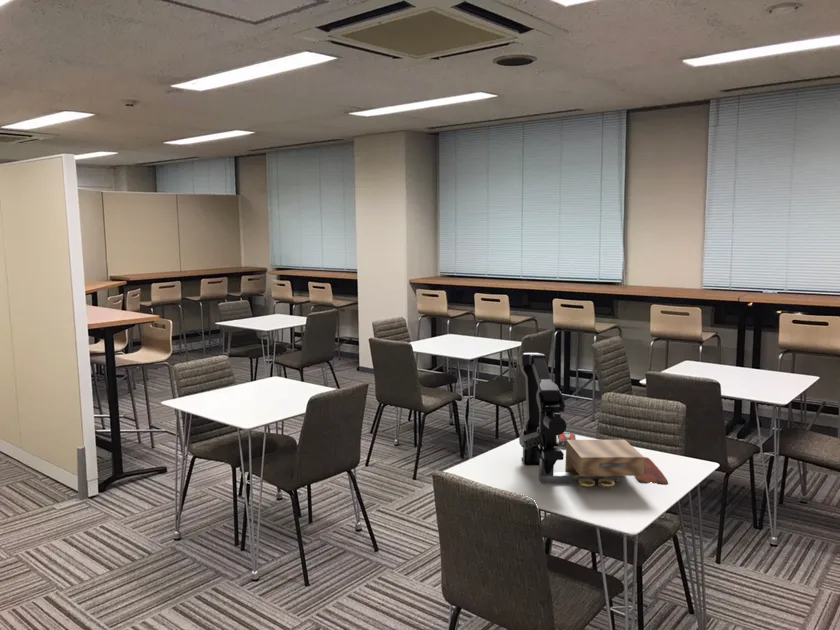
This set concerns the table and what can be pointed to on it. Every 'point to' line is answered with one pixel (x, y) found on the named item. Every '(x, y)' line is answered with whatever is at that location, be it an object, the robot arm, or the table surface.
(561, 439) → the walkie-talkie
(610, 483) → the brass disc
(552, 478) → the gray l-shaped bracket
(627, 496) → the table surface
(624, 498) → the table surface
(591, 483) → the brass disc
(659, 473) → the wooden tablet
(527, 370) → the robot arm
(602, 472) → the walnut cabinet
